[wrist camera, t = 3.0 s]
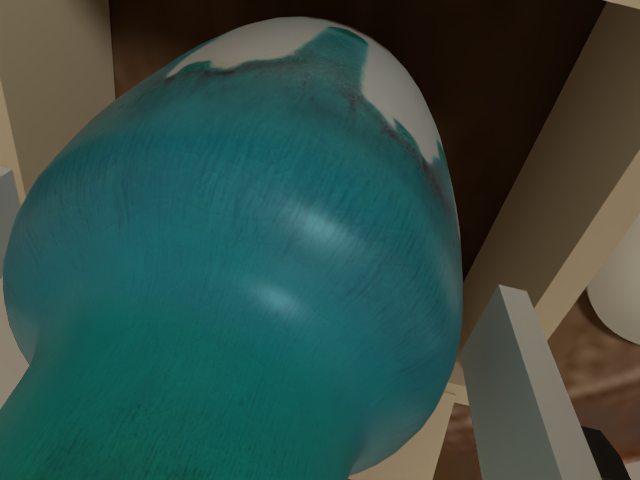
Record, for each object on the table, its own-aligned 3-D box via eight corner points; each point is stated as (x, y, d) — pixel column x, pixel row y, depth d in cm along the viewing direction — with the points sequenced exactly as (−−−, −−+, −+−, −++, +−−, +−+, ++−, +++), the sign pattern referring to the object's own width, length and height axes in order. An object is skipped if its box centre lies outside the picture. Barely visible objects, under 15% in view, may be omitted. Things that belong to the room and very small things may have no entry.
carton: (48, -342, 14) (-396, -697, 6) (737, -173, 14) (1176, -308, 6) (108, 267, 28) (-1, 396, 21) (449, 350, 28) (470, 510, 21)
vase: (483, 108, 20) (820, 759, 4) (335, 251, 25) (240, 766, 10) (290, -69, 17) (-784, -87, 2) (171, 134, 23) (-330, 587, 7)
